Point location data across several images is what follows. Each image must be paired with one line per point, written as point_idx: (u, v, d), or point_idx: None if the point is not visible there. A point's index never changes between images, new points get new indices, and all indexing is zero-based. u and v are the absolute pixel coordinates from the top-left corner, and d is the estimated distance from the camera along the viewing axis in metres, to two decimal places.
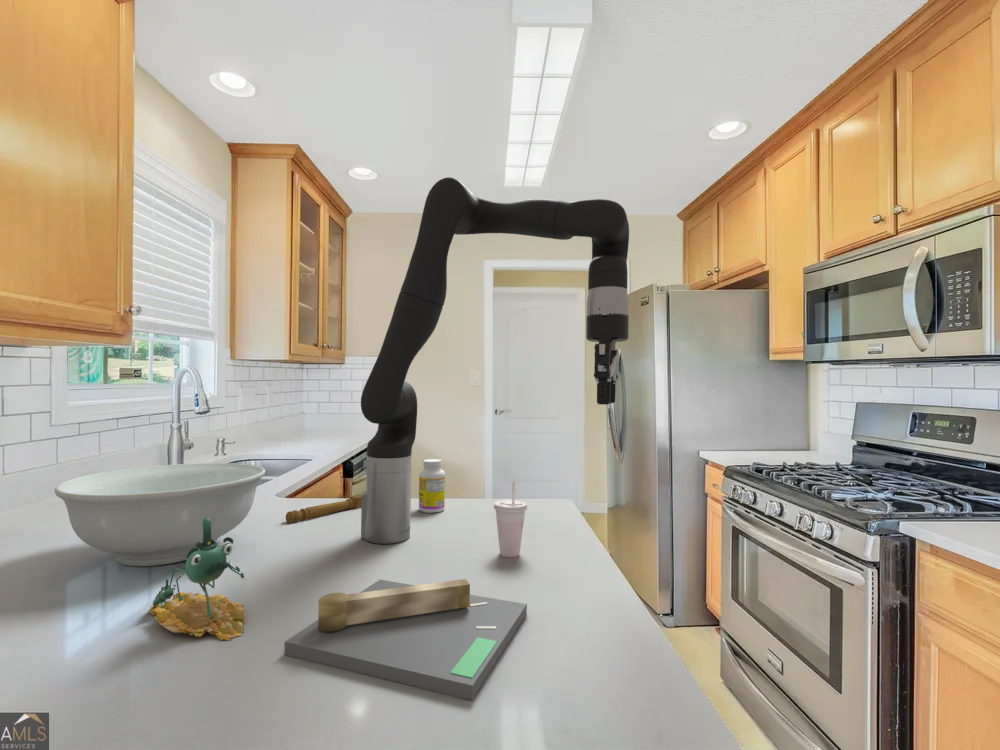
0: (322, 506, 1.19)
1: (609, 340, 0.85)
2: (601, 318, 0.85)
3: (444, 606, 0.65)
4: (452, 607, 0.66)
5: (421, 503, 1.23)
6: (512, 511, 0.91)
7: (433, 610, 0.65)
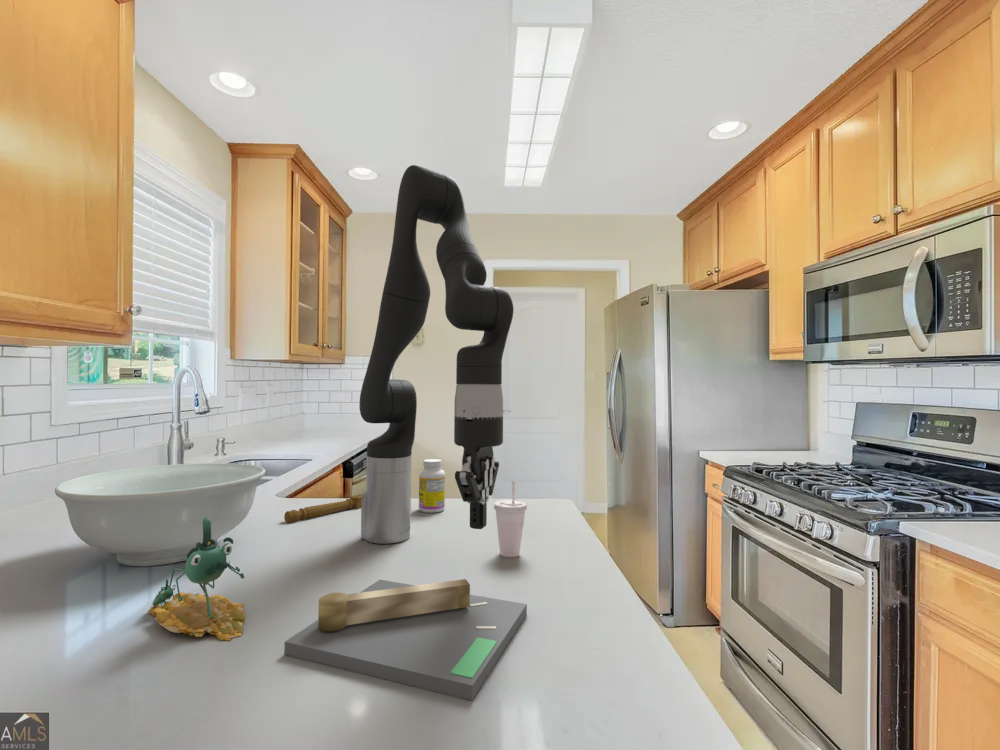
0: (321, 506, 1.19)
1: (474, 449, 0.71)
2: (465, 423, 0.72)
3: (444, 606, 0.65)
4: (452, 607, 0.66)
5: (421, 503, 1.23)
6: (512, 511, 0.91)
7: (433, 610, 0.65)
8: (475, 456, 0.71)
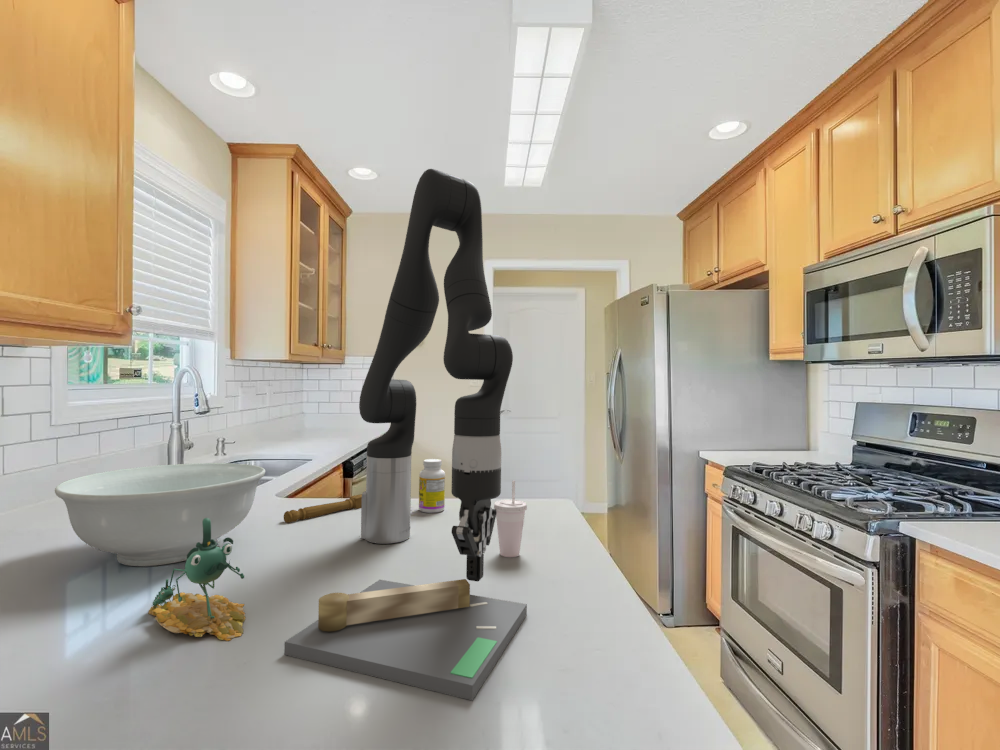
0: (321, 506, 1.19)
1: (472, 503, 0.71)
2: (463, 475, 0.71)
3: (444, 606, 0.65)
4: (452, 607, 0.66)
5: (421, 503, 1.23)
6: (512, 511, 0.91)
7: (433, 610, 0.65)
8: (472, 510, 0.70)
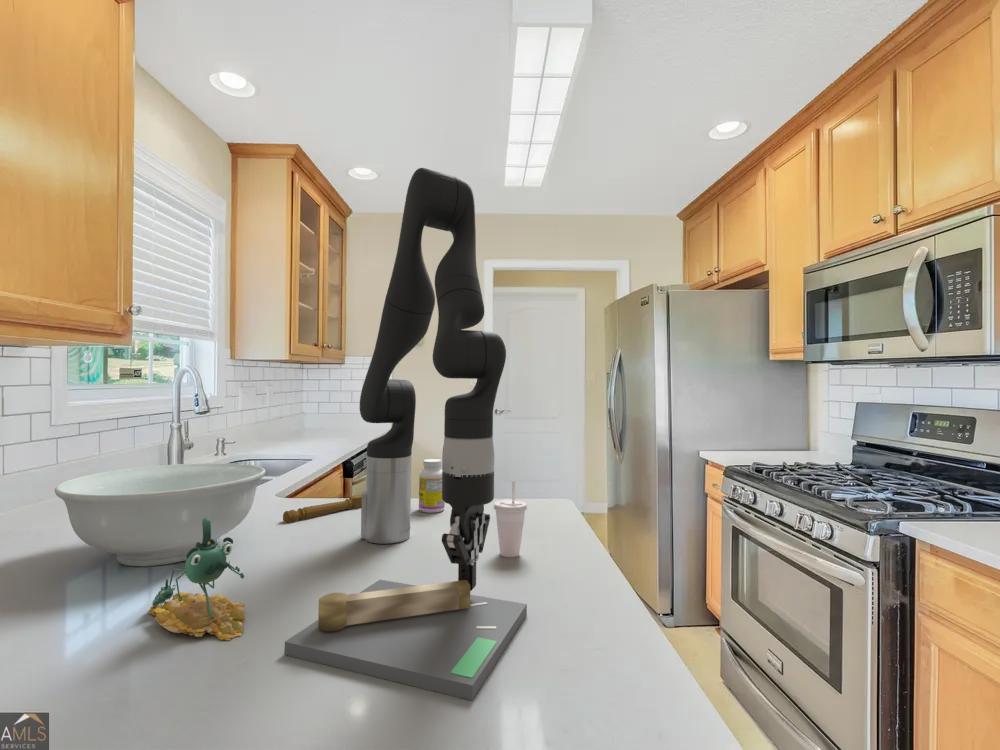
0: (320, 506, 1.19)
1: (463, 509, 0.67)
2: (454, 480, 0.67)
3: (444, 607, 0.65)
4: (452, 608, 0.65)
5: (421, 503, 1.23)
6: (512, 511, 0.91)
7: (433, 611, 0.65)
8: (464, 516, 0.66)
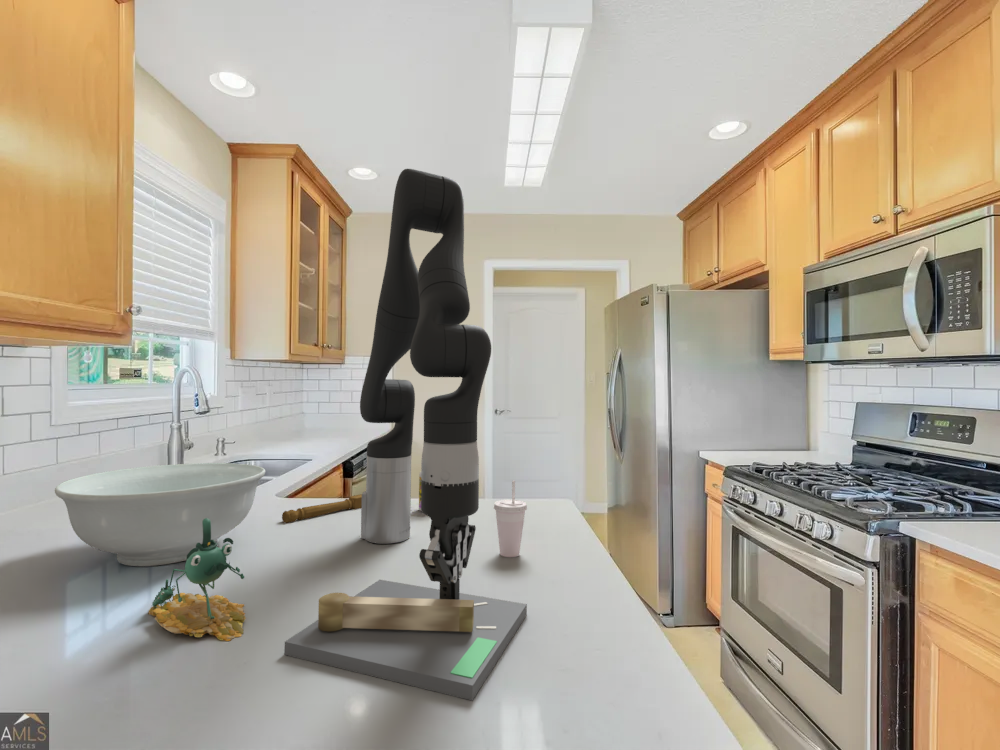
0: (319, 506, 1.19)
1: (444, 522, 0.60)
2: (433, 490, 0.61)
3: (443, 626, 0.60)
4: (452, 629, 0.60)
5: None
6: (512, 511, 0.91)
7: (431, 628, 0.60)
8: (444, 530, 0.60)
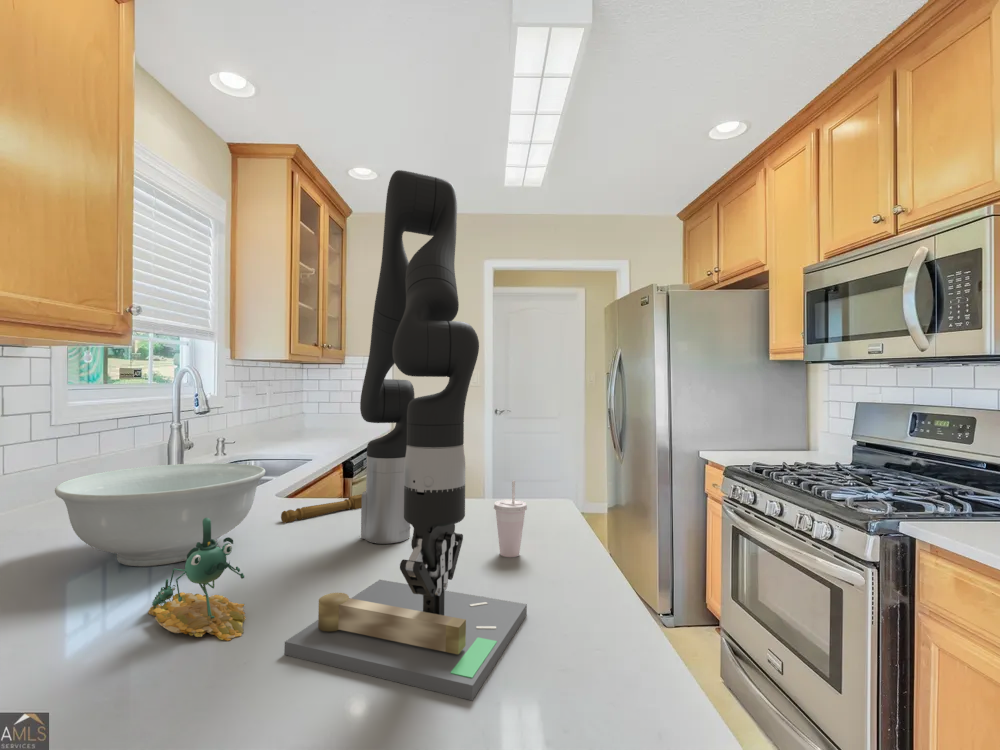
0: (318, 506, 1.19)
1: (427, 530, 0.57)
2: (416, 496, 0.57)
3: (430, 644, 0.56)
4: (439, 648, 0.55)
5: None
6: (512, 511, 0.91)
7: (418, 644, 0.56)
8: (427, 539, 0.56)
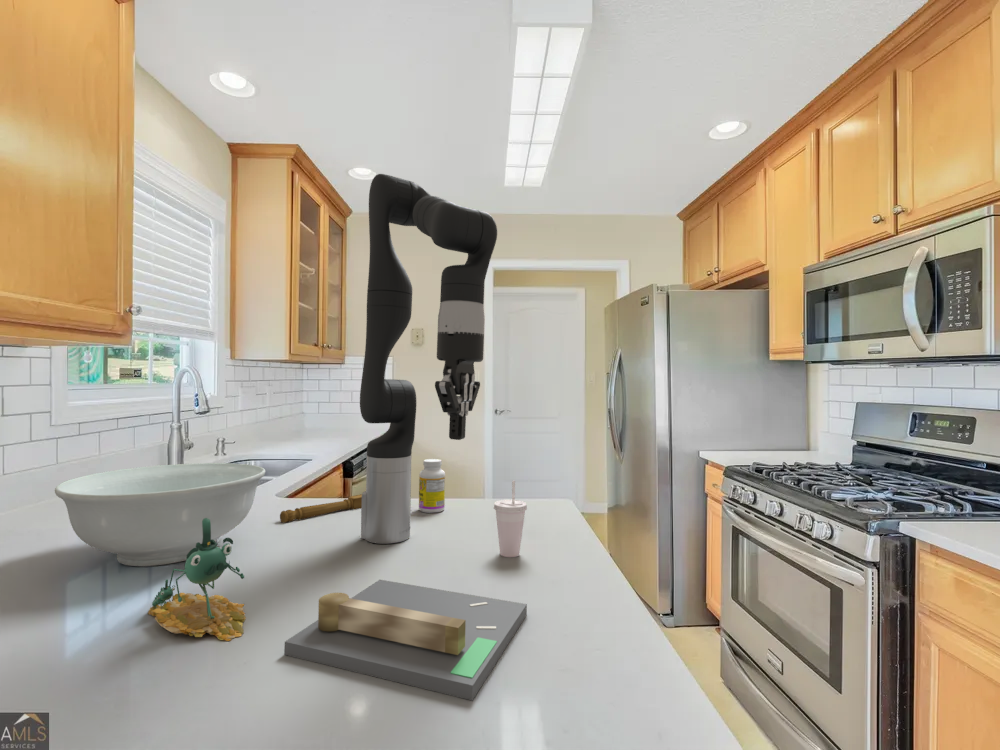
0: (317, 506, 1.19)
1: (455, 362, 0.75)
2: (447, 337, 0.75)
3: (429, 644, 0.56)
4: (438, 648, 0.55)
5: (421, 503, 1.23)
6: (512, 511, 0.91)
7: (418, 644, 0.56)
8: (455, 368, 0.75)
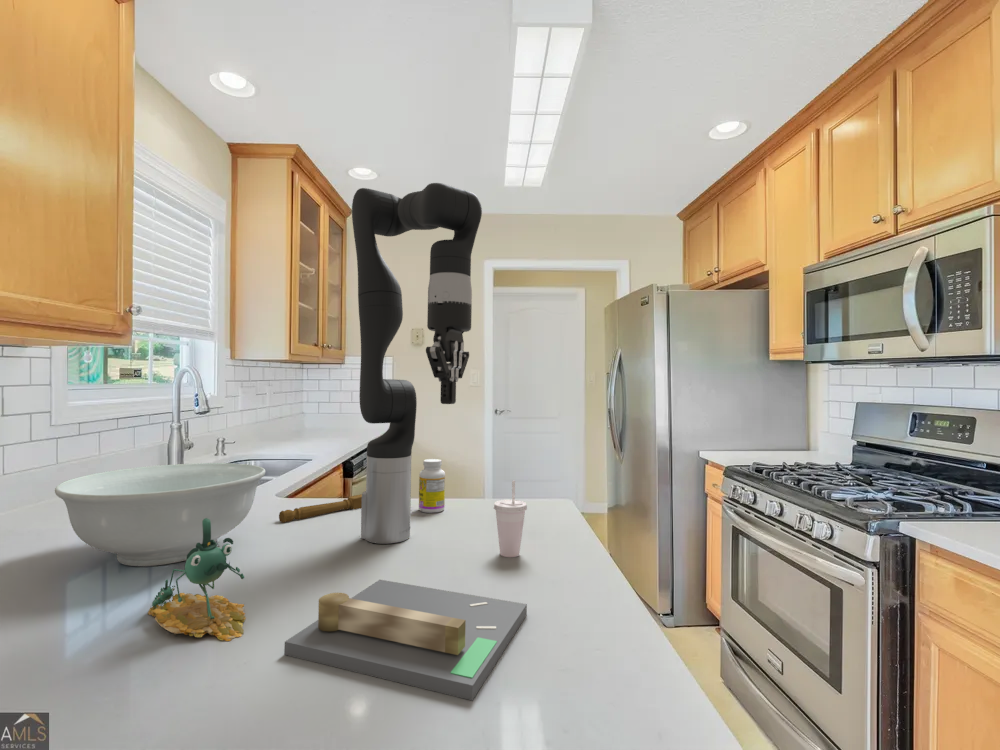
0: (317, 506, 1.19)
1: (444, 329, 0.80)
2: (437, 306, 0.80)
3: (429, 644, 0.56)
4: (438, 648, 0.55)
5: (421, 503, 1.23)
6: (512, 511, 0.91)
7: (418, 644, 0.56)
8: (444, 335, 0.80)
